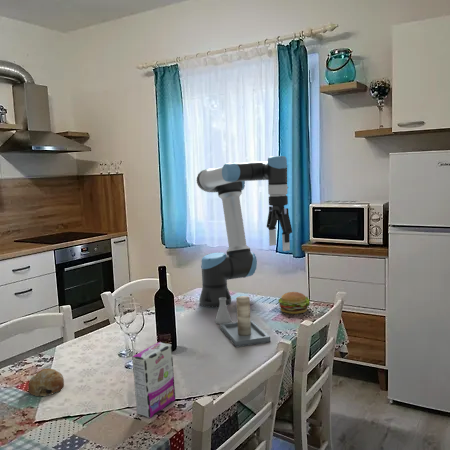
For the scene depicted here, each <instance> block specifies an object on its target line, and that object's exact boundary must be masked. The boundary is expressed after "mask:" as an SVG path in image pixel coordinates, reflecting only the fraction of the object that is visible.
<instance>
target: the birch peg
mask: <svg viewBox="0 0 450 450" xmlns="http://www.w3.org/2000/svg"><path fill="white" fill-rule="evenodd" d="M235 300H236V316H237V317H236V322H237V324H238V335H240V336H248V335H250V334H251V320H252V319H251V304H250V303H251V301H250V300H251V299H250V297H249V296H247V295H240V296H237V297H236V299H235Z"/></svg>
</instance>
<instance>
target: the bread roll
mask: <svg viewBox="0 0 450 450" xmlns="http://www.w3.org/2000/svg"><path fill="white" fill-rule="evenodd" d="M64 387H65V380H64V375H63V374H62V373H61V372H60V371H58V370H56V369H53V368H50V367H49V368H42V369H41V370H39V371H37V372H36V374H35V375H33V376H32V377H31V378H30V379H29V381H28V386H27V389H28V393H30V394H31V395H32V396H34V395H35V396H34V397H41V396H44V397H46V395H48V394H51V395H53V394H52V393H54V392H57V393H59V392H61V391H62V390H63V389H64ZM62 388H63V389H62ZM61 389H62V390H61ZM60 390H61V391H60ZM58 391H59V392H58ZM54 394H55V393H54ZM48 396H49V395H48Z"/></svg>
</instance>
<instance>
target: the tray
mask: <svg viewBox="0 0 450 450" xmlns="http://www.w3.org/2000/svg"><path fill="white" fill-rule="evenodd" d="M250 320H251V334H250V335H248V336H240V335H238V324H237V321H232V322H230V323H225V324H220V330H221V331H222V332H223V333H224V334H225V336H226V337H227V338H228V339H229V340H230V341H231V342H232V344H233V345H234V346H235V347H236V348H240V347H246V346H251V345H252V346H253V345H258V344H264V343H265V344H266V343H271V336H270V335H269V334H268V333H267V332H266V331H264V329H262V328H261V327H260V326H259V325H258V324H256V323H255V322H254V321H253V320H252V319H250Z"/></svg>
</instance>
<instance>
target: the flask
mask: <svg viewBox="0 0 450 450" xmlns="http://www.w3.org/2000/svg"><path fill="white" fill-rule="evenodd" d="M219 301H220V305H219V307H218V310H217V313H216V317H215V320H214V322H215V324H218V325H221V324H225V323H233V320H232V318H231V315H230V312H229V309H228V307H227V306H228V305H227V306H226V298H219Z"/></svg>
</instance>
